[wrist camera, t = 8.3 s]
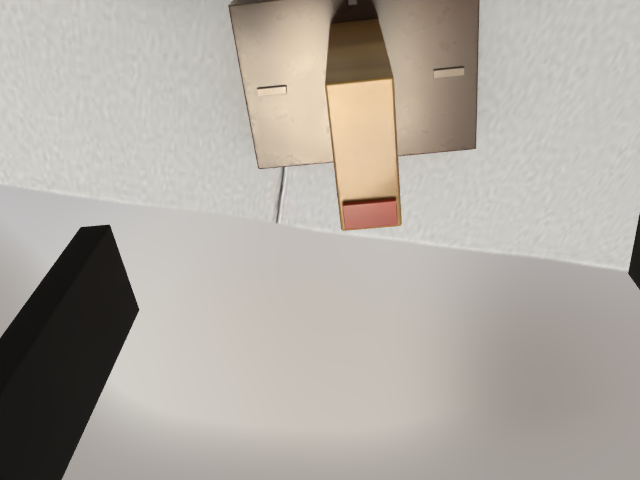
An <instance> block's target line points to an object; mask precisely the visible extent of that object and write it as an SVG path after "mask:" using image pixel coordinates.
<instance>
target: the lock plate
mask: <svg viewBox="0 0 640 480" xmlns="http://www.w3.org/2000/svg"><path fill="white" fill-rule="evenodd" d="M229 12H230V17H231V23H232V28H233V34H234V39H235V44H236V50H237V55H238V61H239V66H240V72H241V77H242V82H243V88H244V93H245V99H246V104H247V110H248V115H249V121H250V126H251V131H252V137H253V142H254V148H255V153H256V159H257V164H258V168H259V169H265V168H275V167H286V166H297V165H308V164H318V163H329V162H334V161H333V152H332V143H331V135H330V126H329V117H328V108H327V99H326V91H325V78H326V66H327V53H328V41H329V28H330V24H335V23H343V22H352V21H361V20H370V19H379V22H380V26H381V30H382V34H383V38H384V42H385V46H386V50H387V53H388V57H389V61H390V65H391V69H392V73H393V77H394V91H395V110H396V129H397V148H398V156H405V155H415V154H426V153H437V152H448V151H458V150H469V149H476V123H477V78H478V33H479V0H233V1H232V2H231V3H230V5H229Z"/></svg>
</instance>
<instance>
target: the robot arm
mask: <svg viewBox="0 0 640 480" xmlns="http://www.w3.org/2000/svg"><path fill="white" fill-rule="evenodd" d="M628 274H629V275H630V277H631V278H632V279H633V281H634V282H635V283H636V285H637V287H638V288H639V289H640V215H639V220H638V225H637V231H636V236H635V241H634V246H633V252H632V257H631V262H630V267H629V273H628ZM138 311H139V308H138V305H137V302H136V299H135V296H134V293H133V290H132V288H131V285H130V282H129V279H128V276H127V273H126V270H125V267H124V265H123V262H122V259H121V256H120V253H119V250H118V247H117V244H116V241H115V239H114V236H113V233H112V230H111V227H110V225H100V226H90V227H81V228H80V229H79V231H78V232H77V233H76V235H75V236H74V237H73V239H72V240H71V241H70V243H69V244H68V246H67V247H66V248H65V250H64V251H63V252H62V254H61V255H60V257H59V258H58V259H57V261H56V262H55V263H54V265H53V266H52V268H51V269H50V270H49V272H48V273H47V274H46V276H45V277H44V279H43V280H42V281H41V283H40V284H39V286H38V287H37V288H36V290H35V291H34V292H33V294H32V295H31V297H30V298H29V299H28V301H27V302H26V303H25V305H24V306H23V308H22V309H21V310H20V312H19V313H18V315H17V316H16V317H15V319H14V320H13V321H12V323H11V324H10V325H9V327H8V328H7V330H6V331H5V332H4V334H3V335H2V336H1V338H0V480H61V479H62V478H63V475H64V473H65V471H66V469H67V467H68V464H69V462H70V460H71V458H72V456H73V453H74V451H75V449H76V447H77V444H78V443H79V440H80V438H81V436H82V434H83V432H84V429H85V427H86V425H87V423H88V421H89V419H90V416H91V414H92V412H93V410H94V408H95V405H96V403H97V401H98V399H99V397H100V394H101V392H102V390H103V388H104V386H105V384H106V381H107V379H108V377H109V375H110V373H111V370H112V368H113V366H114V364H115V362H116V359H117V357H118V355H119V353H120V351H121V349H122V346H123V344H124V342H125V340H126V337H127V335H128V333H129V331H130V329H131V327H132V324H133V322H134V320H135V318H136V316H137V314H138Z"/></svg>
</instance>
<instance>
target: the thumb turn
mask: <svg viewBox="0 0 640 480" xmlns="http://www.w3.org/2000/svg"><path fill="white" fill-rule="evenodd" d="M325 91H326V99H327V108H328V117H329V126H330V135H331V143H332V152H333V161H334V170H335V178H336V187H337V196H338V205H339V214H340V222H341V229H342V230H343V231H344V230H356V229H368V228H380V227H392V226H400V225H401V224H402V223H401V204H400V186H399V167H398V148H397V129H396V110H395V91H394V77H393V73H392V69H391V65H390V61H389V57H388V53H387V50H386V46H385V42H384V38H383V34H382V30H381V26H380V22H379V19H370V20H361V21H352V22H343V23H335V24H330V28H329V41H328V53H327V66H326V78H325Z"/></svg>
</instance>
